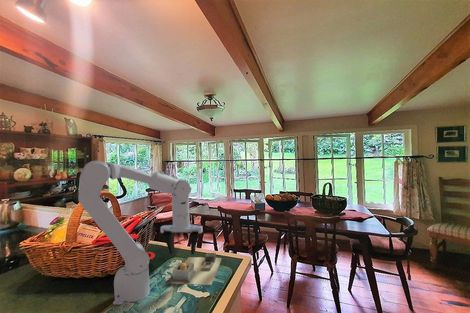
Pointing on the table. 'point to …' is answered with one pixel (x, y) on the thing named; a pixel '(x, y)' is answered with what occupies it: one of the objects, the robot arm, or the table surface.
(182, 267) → the square tray with peg
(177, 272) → the square metal tube
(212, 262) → the board
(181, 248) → the table surface
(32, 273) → the table surface
